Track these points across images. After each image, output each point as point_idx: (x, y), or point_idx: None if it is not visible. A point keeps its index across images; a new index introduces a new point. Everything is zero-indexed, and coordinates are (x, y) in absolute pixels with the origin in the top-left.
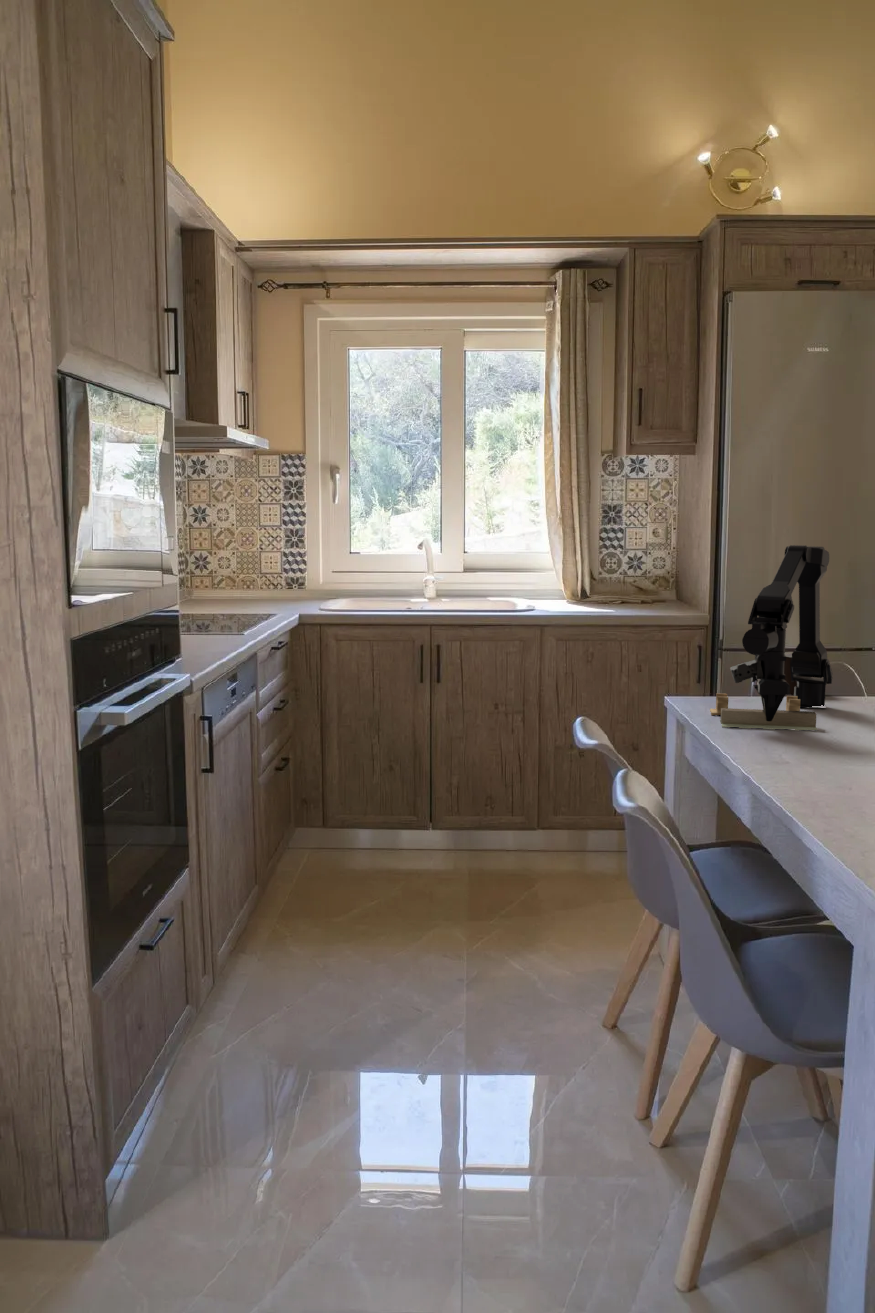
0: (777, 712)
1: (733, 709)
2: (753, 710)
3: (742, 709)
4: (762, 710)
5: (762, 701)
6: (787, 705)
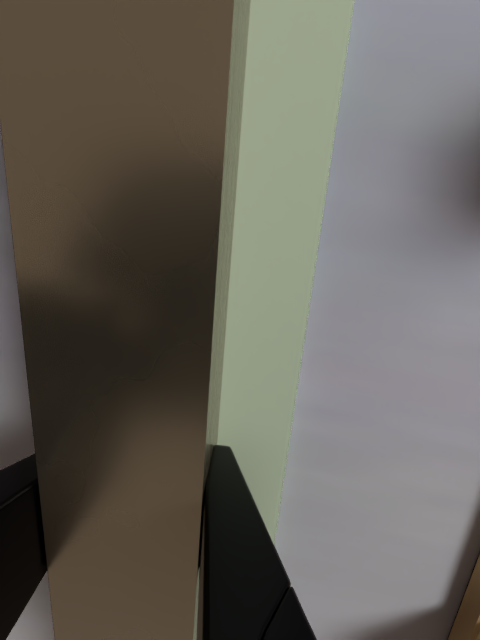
0: (52, 596)
1: (131, 15)
2: (117, 364)
3: (163, 204)
4: (143, 476)
5: (203, 628)
6: None
